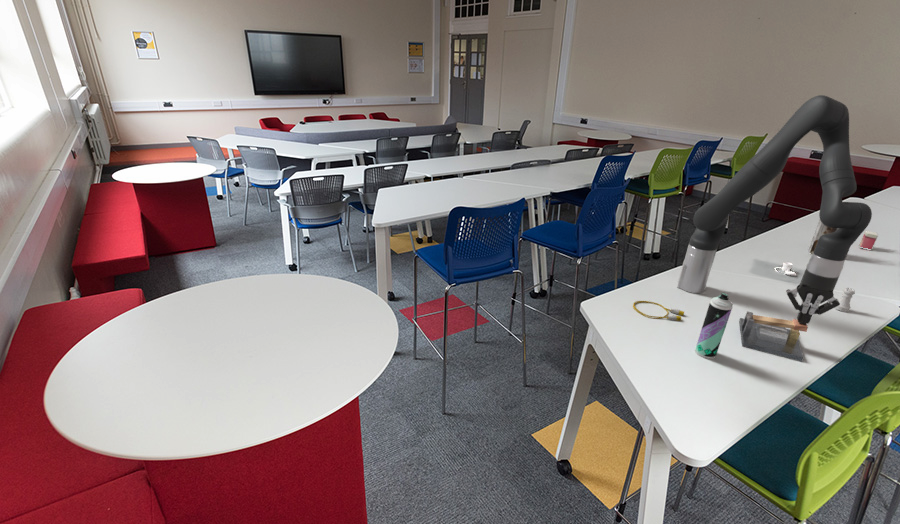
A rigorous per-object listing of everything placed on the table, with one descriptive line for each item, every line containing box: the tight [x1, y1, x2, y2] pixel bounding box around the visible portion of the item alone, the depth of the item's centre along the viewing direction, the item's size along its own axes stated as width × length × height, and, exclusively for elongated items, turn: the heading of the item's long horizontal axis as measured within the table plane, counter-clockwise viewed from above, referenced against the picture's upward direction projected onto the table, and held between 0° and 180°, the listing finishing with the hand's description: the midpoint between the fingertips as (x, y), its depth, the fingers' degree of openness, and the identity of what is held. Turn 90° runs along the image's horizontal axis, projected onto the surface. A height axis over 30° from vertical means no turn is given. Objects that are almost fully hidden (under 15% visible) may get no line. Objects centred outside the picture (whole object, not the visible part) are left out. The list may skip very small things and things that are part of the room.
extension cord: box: [632, 300, 685, 322], centre depth 152 cm, size 12×16×2 cm
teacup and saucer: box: [774, 261, 797, 277], centre depth 185 cm, size 9×8×4 cm
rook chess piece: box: [834, 287, 856, 313], centre depth 156 cm, size 4×4×8 cm
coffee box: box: [807, 219, 839, 255], centre depth 201 cm, size 9×6×16 cm
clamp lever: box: [745, 313, 808, 333], centre depth 136 cm, size 15×4×2 cm, turn 62°
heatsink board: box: [738, 311, 804, 362], centre depth 137 cm, size 15×16×7 cm
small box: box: [858, 230, 879, 250], centre depth 211 cm, size 5×4×8 cm
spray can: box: [694, 292, 734, 360], centre depth 127 cm, size 6×6×20 cm
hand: (801, 323), depth 132 cm, fingers closed
